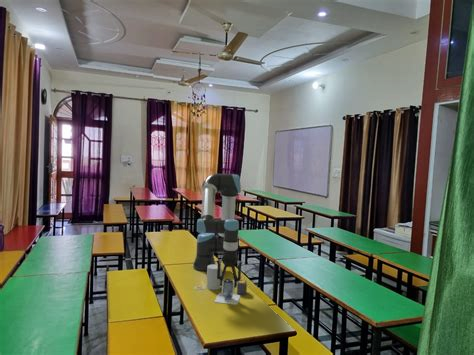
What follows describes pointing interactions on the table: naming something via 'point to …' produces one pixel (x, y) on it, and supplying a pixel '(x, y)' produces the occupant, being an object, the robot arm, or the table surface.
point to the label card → (199, 288)
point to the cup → (213, 277)
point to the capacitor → (228, 288)
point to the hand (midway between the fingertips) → (228, 292)
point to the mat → (227, 299)
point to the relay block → (241, 287)
